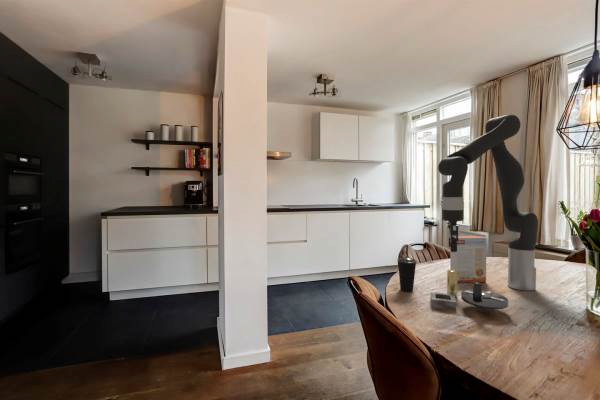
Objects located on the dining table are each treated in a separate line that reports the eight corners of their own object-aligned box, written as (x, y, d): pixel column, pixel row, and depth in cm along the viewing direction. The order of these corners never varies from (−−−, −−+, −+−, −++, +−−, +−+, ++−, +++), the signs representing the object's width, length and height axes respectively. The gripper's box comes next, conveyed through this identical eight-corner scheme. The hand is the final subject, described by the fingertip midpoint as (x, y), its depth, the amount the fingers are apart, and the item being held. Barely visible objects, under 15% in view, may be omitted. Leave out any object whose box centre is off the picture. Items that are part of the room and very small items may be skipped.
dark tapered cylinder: (407, 296, 120) (407, 247, 119) (393, 291, 127) (393, 244, 126) (420, 293, 124) (420, 245, 123) (406, 288, 130) (406, 242, 130)
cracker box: (479, 278, 143) (480, 235, 142) (486, 282, 137) (487, 237, 136) (449, 278, 144) (450, 235, 143) (454, 282, 138) (455, 237, 137)
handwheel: (470, 291, 114) (471, 271, 114) (514, 301, 103) (514, 280, 103) (454, 300, 105) (454, 279, 105) (499, 313, 94) (500, 289, 94)
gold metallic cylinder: (456, 297, 119) (456, 270, 119) (457, 300, 116) (458, 272, 115) (446, 296, 120) (446, 269, 120) (447, 299, 117) (447, 271, 117)
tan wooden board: (499, 307, 109) (499, 297, 108) (510, 325, 95) (510, 313, 95) (430, 299, 117) (430, 289, 117) (431, 314, 103) (431, 303, 103)
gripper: (466, 210, 108) (466, 254, 109) (461, 207, 122) (461, 246, 122) (443, 209, 111) (443, 252, 112) (440, 207, 124) (441, 245, 125)
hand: (452, 249), depth 117 cm, fingers open, 8 cm apart
